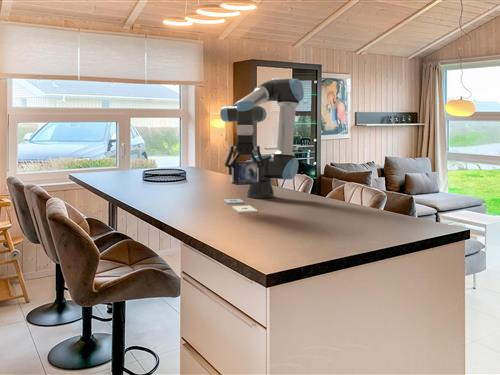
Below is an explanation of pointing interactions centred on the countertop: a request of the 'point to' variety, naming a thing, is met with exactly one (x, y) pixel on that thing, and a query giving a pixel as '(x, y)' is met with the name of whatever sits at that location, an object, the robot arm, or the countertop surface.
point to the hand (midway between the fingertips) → (244, 181)
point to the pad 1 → (233, 201)
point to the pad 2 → (244, 209)
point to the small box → (245, 173)
